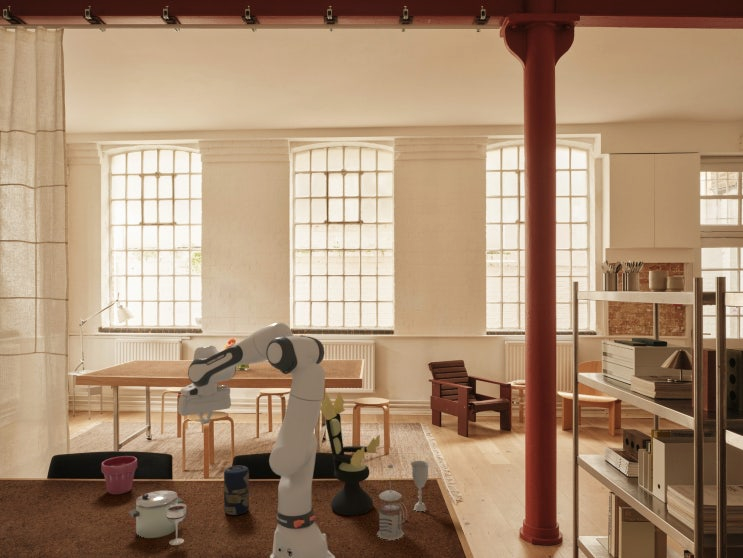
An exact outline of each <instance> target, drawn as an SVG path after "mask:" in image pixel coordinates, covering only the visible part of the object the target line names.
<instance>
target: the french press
mask: <svg viewBox="0 0 743 558" xmlns="http://www.w3.org/2000/svg"><path fill="white" fill-rule="evenodd" d="M387 468H388V469H393V468H394V466H393V464H392V463H389V464H387ZM391 481H392V480H391V477H389V490H384V491H382V492H381V493H379V495H378V497H379V499H380V500H382V501H386V502H387V503H382V504H381V505H380V509H379V511H378V512H379V515H378V516H379V521H378V522H379V524H378V525H379V530H378V531H377V532H376V536H377V535H378V536H377V537H378V538H379V537H380V538H379V539H381V538H383V539H388V540H387V541H391V540H393V541H396V540H395V539H398V540H400V539H399V538H401V537H402V536H403V535H404V536H405V533H404V531H403V530H402V523H404V522H406V520H407V519H408V518H407V517H408V511H407V507H406V505H405V504H404V502H402V501H400V500H401V498H402V494H401V493H400V492H398V491H395V490H394V489H393V490H392V488H391ZM396 501H400V502H398V503H393V502H396ZM401 504H402V505H403V506H404V508H403V507H402V505H401ZM404 511H406V513H405V512H404ZM391 513H392V514H391ZM402 513H403V514H402ZM405 514H406V515H405ZM402 516H403V518H402ZM405 516H406V517H405ZM404 536H403V537H404ZM403 537H402V538H403ZM402 538H401V539H402ZM383 539H382V540H383Z"/></svg>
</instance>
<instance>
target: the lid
mask: <svg viewBox="0 0 743 558" xmlns="http://www.w3.org/2000/svg"><path fill="white" fill-rule="evenodd" d="M177 498H178V493H177V492H176V491H173V490H156V491H151V492H148V493H144V494H142V495H140V496H138V497H137V498H136V500H135V503H136V504H137V505H138V506H140V507H158V506H163V505H167V504H170V503H172V502H174V501H175V500H176V499H177ZM136 504H135V505H136Z"/></svg>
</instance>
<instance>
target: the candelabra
mask: <svg viewBox="0 0 743 558" xmlns="http://www.w3.org/2000/svg"><path fill="white" fill-rule="evenodd" d="M324 397H325V398H324V399H322V404H321V409H320V412H321V413H322V416H323V417H324V419H325V420H324V421H325V427H326V432H327V435H328V436H327V437H328V441H329V445H330V449H331V453H332V459H333V466H334V470H333V471H334V472H333V473H334V477H335V478H336V479H337V480H338V481H340V482H343V483H344V486H343V487H342V488H341V489H340V490H339V491H337V492H336V494H335V495H334V496H333V497H332V499H331V501H330V507H331V509H332V510H333V511H334V512H335V513H337V514H339V515H344V516H359V515H360V516H361V515H363V514H366V513H368V512H369V511H370V510H372V508H373V507H374V502H373V498H372V497H371V495H369V494H368V493H367V491H365V490H364V489H363V488H362V487H361V485H360V483H361V482H363V481H365V480H367V478H369V475H370V469H369V467H368V465H366V464H365V463H363V462H362V460H363V459H365V453H368V454H369V453H370V454H377V448H378V447H380V440H381V439H380V438H381V437H380V436H381V435H380V434H378V435H377V436H376V438H374V437H373V438H372V439H371V440H370V442H369V444H368V445H367V446H357V445H356V446H355V445H354V446H353V445H352V446H351V445H349V446H348V445H347V446H344V444H343V434H342V433H343V432H342V421H341V415H340V414H341V413H344V411H346V409H345V408H344V403H345V400H344V398H343V397H342V395H341V393H340V392H338V394H337V397H336V398H335V401H334V402H332V400H331V398H330V396H329V395H328V393H326V394H324ZM345 453H354V454H353V455H352V456H347V455H345Z"/></svg>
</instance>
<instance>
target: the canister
mask: <svg viewBox="0 0 743 558" xmlns="http://www.w3.org/2000/svg"><path fill="white" fill-rule="evenodd" d="M223 487H224V488H223V502H224V503H223V507H224V508H223V510H224V512H225V514H227V515H231V516H238V515H243V514H245V513H247V512H248V511H249V507H250V493H249V492H250V471H249V468H248V466H245V465H241V464H240V465H232V466H229V467H226V468H225V469H224V471H223Z"/></svg>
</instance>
